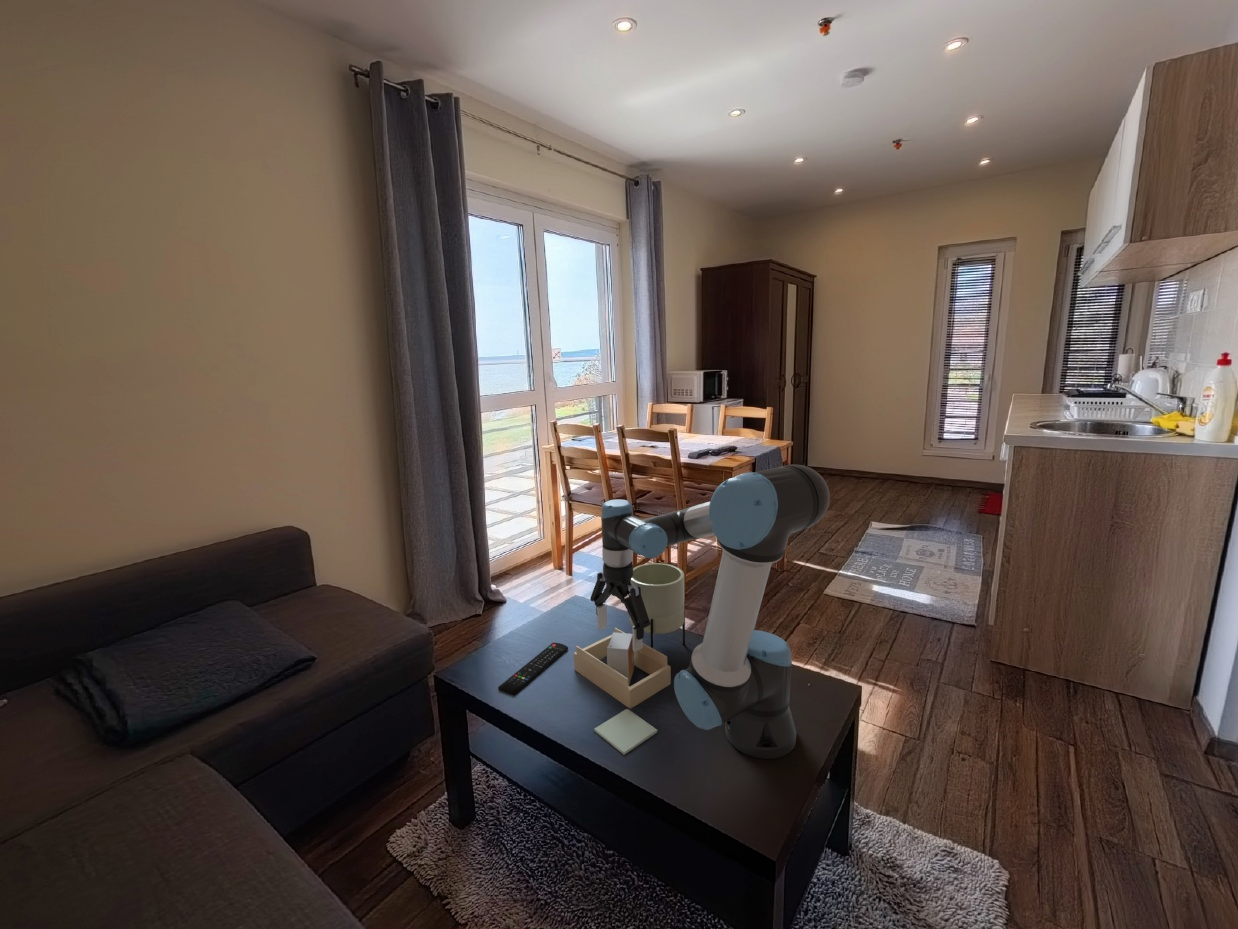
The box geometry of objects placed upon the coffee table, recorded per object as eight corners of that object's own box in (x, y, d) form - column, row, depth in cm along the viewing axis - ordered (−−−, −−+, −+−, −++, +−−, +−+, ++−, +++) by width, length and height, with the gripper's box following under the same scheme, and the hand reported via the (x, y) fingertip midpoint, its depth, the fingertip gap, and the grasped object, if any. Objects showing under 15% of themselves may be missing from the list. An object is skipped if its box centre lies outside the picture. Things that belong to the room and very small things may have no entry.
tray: (670, 684, 139) (670, 657, 137) (630, 709, 130) (629, 681, 128) (614, 649, 155) (613, 626, 153) (574, 669, 146) (573, 644, 144)
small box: (629, 687, 138) (628, 649, 136) (607, 685, 139) (606, 648, 137) (634, 669, 146) (633, 633, 143) (614, 667, 147) (613, 631, 144)
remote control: (498, 691, 139) (498, 687, 138) (554, 645, 159) (554, 641, 159) (514, 697, 136) (514, 693, 136) (569, 650, 156) (569, 646, 156)
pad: (657, 732, 122) (657, 729, 122) (624, 755, 115) (623, 752, 115) (627, 710, 129) (627, 708, 129) (594, 731, 123) (594, 728, 123)
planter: (652, 629, 165) (651, 558, 160) (695, 648, 155) (695, 572, 150) (617, 649, 155) (615, 574, 150) (660, 671, 144) (659, 591, 139)
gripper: (664, 572, 129) (664, 652, 134) (597, 544, 147) (599, 615, 152) (641, 582, 124) (642, 665, 129) (575, 551, 142) (578, 625, 147)
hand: (619, 638), depth 140 cm, fingers open, 13 cm apart
